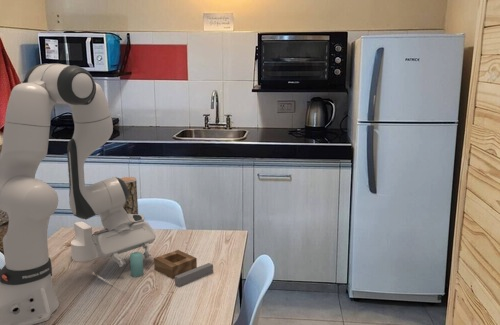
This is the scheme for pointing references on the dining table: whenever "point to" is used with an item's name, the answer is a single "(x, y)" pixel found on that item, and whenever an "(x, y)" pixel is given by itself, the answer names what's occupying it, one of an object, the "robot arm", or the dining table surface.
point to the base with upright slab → (83, 243)
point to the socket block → (174, 263)
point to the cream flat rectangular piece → (193, 274)
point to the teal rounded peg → (136, 264)
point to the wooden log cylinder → (131, 195)
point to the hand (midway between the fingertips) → (135, 261)
